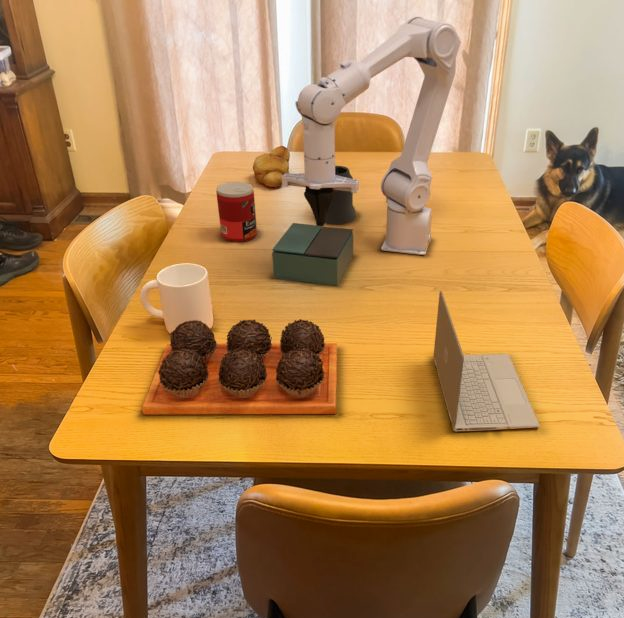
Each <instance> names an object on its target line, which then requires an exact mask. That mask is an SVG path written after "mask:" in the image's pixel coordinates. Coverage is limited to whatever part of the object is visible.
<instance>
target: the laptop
mask: <svg viewBox="0 0 624 618" xmlns="http://www.w3.org/2000/svg"><path fill="white" fill-rule="evenodd" d="M434 335H435V336H434V346H433V347H434V348H433V361H434V364H435V367H436V372H437V375H438V380H439V383H440V387H441V390H442V394H443V399H444V402H445V405H446V409H447V413H448V416H449V419H450V422H451V427H452V431H453V432H474V431H475V432H477V431H496V430H497V431H498V430H513V429H514V430H515V429H529V428H532V429H533V428H540V427H541V425H540V423H539V421H538V418H537V416H536V414H535V411H534V409H533V406H532V403H531V402H530V400H529V398H528V395H527V393H526V391H525V389H524V386H523V384H522V381H521V379H520V377H519V374H518V372H517V370H516V368H515V366H514V363H513V361H512V359H511V357H510V354H508V353H496V354H493V353H492V354H464V353H463V349H462V346H461V343H460V341H459V338H458V335H457V332H456V328H455V326H454V323H453V321H452V317H451V314H450V312H449V308H448V305H447V303H446V300H445V297H444V294H443V291H442V290H439V294H438V303H437V316H436V326H435V334H434Z"/></svg>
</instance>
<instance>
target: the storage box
mask: <svg viewBox="0 0 624 618" xmlns="http://www.w3.org/2000/svg"><path fill="white" fill-rule="evenodd" d="M322 228H323V226H317V225H316V224H308V223H300V222H299V223H298V222H292V223H291V225H290V226H289V227H288V228H287V230H286V231H285V232H284V234H283V235H282V236H281V237H280V239H279V240H278V241H277V242H276V243H275V244H274V246H273V247H272V252H271V256H272V271H273V279H279V280H287V281H294V282H303V283H311V284H318V285H319V284H320V285H328V286H336V287H338V285H339V284H340V282H341V280H342V278H343V276H344V274H345V273H346V272H347V269H348V267H349V265H350V264H351V263H352V260H353V258H354V232H352V233H351V235H350V237H349V238H348V240H347V242H346V243H345V245H344V247H343V249H342V250H341V252H340V254H339V255H338V257H337V258H330V257H319V256H309V255H305V252H306V251H307V249H308V248H309V246H310V245H311V244H312V242H313V241H314V239H315V238H316V236H317V235H318V233H319V232H320V230H321V229H322Z"/></svg>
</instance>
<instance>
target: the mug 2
mask: <svg viewBox="0 0 624 618" xmlns="http://www.w3.org/2000/svg"><path fill="white" fill-rule="evenodd" d="M335 175H337V176H341V177H346V178H350V179H354V177H353V176H352V174H351V173H350V169H349V167H347V166H343V165H335ZM353 196H354V193H351V191H342V190H336V191H335V193H334V195H333V198H332V200H331V203H330V205H329V209H328V212H327V217H326V223H325V224H329V225H345V224H349V223H352V222H354V221H355V220H356V218H357V213H356V208H355V206H354V201H353V199H354V198H353Z"/></svg>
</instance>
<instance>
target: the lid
mask: <svg viewBox="0 0 624 618" xmlns="http://www.w3.org/2000/svg"><path fill="white" fill-rule="evenodd" d="M353 231H354V229H353V228H344V227H332V226H331V227H330V226H322V229H321V230H320V232H319V233H318V235H317V236H316V238H315V239H314V241H313V242H312V244H311V245H310V246H309V248H308V249H307V251H306V252H305V255H309V256H319V257H330V258H337V257H338V255H339V254H340V252H341V250H342V249H343V247H344V245H345V243H346V242H347V240H348V238H349V237H350V235H351V233H354V232H353Z"/></svg>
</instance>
